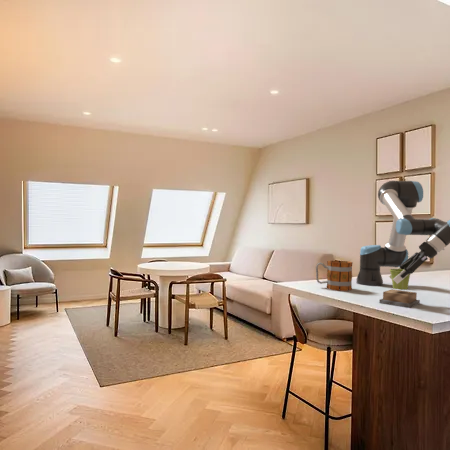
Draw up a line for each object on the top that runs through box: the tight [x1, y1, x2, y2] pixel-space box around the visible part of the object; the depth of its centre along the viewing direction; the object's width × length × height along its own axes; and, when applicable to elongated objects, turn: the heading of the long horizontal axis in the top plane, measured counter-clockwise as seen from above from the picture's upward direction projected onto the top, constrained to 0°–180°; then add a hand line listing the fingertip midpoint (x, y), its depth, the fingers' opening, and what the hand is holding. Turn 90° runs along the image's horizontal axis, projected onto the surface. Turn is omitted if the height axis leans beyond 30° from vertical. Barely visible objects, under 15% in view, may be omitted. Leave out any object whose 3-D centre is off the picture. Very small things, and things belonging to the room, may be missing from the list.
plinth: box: [378, 288, 421, 308], centre depth 177 cm, size 13×14×5 cm
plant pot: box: [388, 268, 411, 291], centre depth 177 cm, size 9×9×9 cm
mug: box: [315, 260, 353, 292], centre depth 214 cm, size 20×14×15 cm
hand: (392, 280), depth 178 cm, fingers closed on plant pot, 9 cm apart
